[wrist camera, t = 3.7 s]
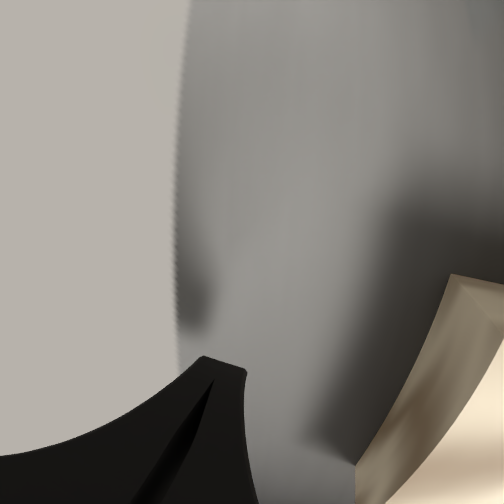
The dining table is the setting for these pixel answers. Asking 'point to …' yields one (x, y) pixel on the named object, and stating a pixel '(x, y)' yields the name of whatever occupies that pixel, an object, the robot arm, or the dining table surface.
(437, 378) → the maple block
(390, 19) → the dining table surface
